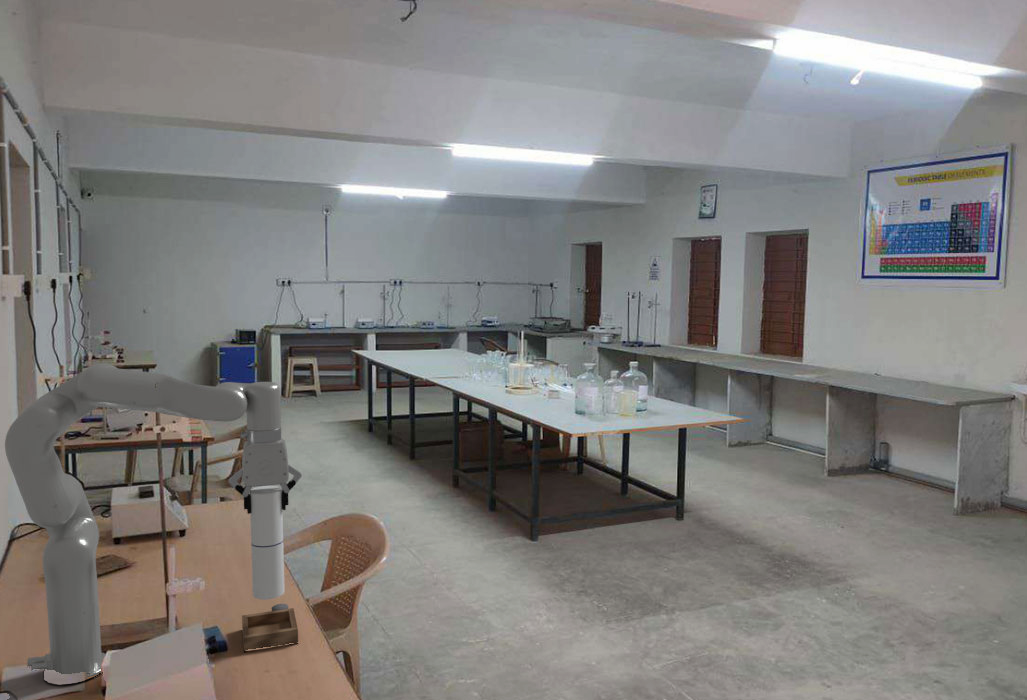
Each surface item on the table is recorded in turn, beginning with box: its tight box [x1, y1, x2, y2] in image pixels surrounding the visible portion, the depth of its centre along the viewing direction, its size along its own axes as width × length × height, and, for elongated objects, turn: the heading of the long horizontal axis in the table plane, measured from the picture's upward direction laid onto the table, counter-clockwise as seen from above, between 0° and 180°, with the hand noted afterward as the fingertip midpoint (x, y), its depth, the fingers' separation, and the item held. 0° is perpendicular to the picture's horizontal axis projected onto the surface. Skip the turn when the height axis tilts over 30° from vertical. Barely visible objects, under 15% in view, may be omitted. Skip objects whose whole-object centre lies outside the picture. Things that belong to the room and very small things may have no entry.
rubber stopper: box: [271, 603, 289, 611], centre depth 190 cm, size 4×4×3 cm
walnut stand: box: [241, 607, 299, 651], centre depth 181 cm, size 12×12×4 cm
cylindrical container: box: [249, 485, 286, 601], centre depth 179 cm, size 7×7×25 cm
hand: (266, 509), depth 178 cm, fingers closed on cylindrical container, 7 cm apart
